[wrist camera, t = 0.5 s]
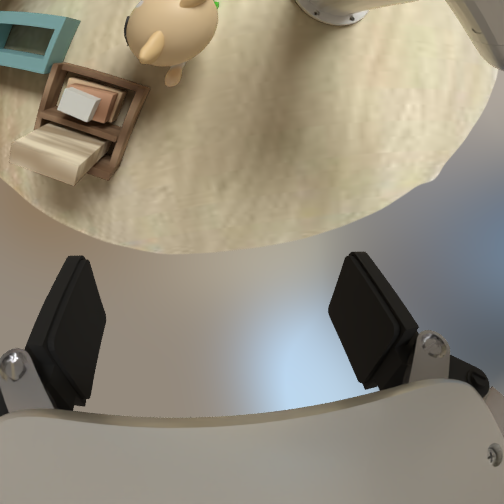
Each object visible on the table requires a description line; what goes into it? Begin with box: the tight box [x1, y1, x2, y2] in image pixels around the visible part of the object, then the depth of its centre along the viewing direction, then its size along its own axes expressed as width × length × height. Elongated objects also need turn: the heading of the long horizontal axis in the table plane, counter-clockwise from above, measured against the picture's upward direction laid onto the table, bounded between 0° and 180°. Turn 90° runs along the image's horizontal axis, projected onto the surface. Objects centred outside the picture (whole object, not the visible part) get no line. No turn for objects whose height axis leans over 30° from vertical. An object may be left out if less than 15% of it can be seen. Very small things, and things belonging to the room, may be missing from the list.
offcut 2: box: [62, 83, 118, 123], centre depth 30 cm, size 4×7×2 cm, turn 65°
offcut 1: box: [57, 87, 101, 122], centre depth 28 cm, size 3×5×2 cm, turn 57°
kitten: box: [124, 0, 219, 87], centre depth 24 cm, size 15×10×15 cm
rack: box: [34, 62, 150, 181], centre depth 32 cm, size 13×15×6 cm
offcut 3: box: [66, 77, 127, 123], centre depth 32 cm, size 4×9×3 cm, turn 62°
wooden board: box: [9, 121, 112, 186], centre depth 30 cm, size 2×10×14 cm, turn 62°
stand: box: [0, 11, 80, 74], centre depth 22 cm, size 8×15×5 cm, turn 61°
